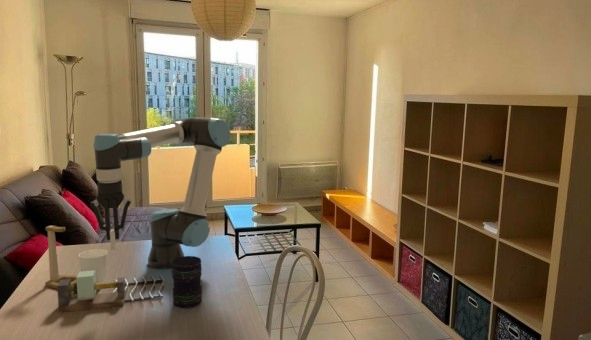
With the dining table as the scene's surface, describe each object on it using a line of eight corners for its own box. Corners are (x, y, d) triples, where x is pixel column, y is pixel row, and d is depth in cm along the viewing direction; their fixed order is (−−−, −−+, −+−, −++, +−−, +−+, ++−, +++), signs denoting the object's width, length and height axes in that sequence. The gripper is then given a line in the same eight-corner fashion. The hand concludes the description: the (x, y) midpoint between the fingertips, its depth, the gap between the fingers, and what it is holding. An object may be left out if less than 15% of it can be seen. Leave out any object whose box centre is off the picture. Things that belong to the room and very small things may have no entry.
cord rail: (125, 295, 151) (124, 272, 150) (123, 305, 143) (122, 281, 142) (63, 301, 145) (61, 278, 144) (57, 312, 138) (56, 287, 136)
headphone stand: (66, 291, 153) (62, 232, 150) (40, 287, 155) (36, 230, 152) (86, 279, 163) (83, 224, 160) (61, 276, 166) (58, 222, 162)
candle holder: (80, 291, 153) (78, 259, 151) (80, 281, 162) (78, 251, 160) (109, 286, 158) (108, 255, 156) (108, 276, 166) (106, 247, 164)
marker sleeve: (96, 290, 146) (95, 270, 145) (94, 296, 142) (92, 275, 141) (80, 292, 145) (79, 271, 144) (77, 298, 140) (76, 277, 139)
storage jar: (168, 300, 148) (167, 259, 145) (194, 293, 154) (194, 254, 151) (179, 311, 140) (178, 268, 138) (206, 303, 146) (206, 262, 143)
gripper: (131, 177, 145) (134, 243, 149) (89, 179, 141) (94, 246, 145) (129, 181, 138) (133, 250, 142) (85, 183, 134) (91, 254, 138)
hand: (113, 248), depth 144 cm, fingers closed
